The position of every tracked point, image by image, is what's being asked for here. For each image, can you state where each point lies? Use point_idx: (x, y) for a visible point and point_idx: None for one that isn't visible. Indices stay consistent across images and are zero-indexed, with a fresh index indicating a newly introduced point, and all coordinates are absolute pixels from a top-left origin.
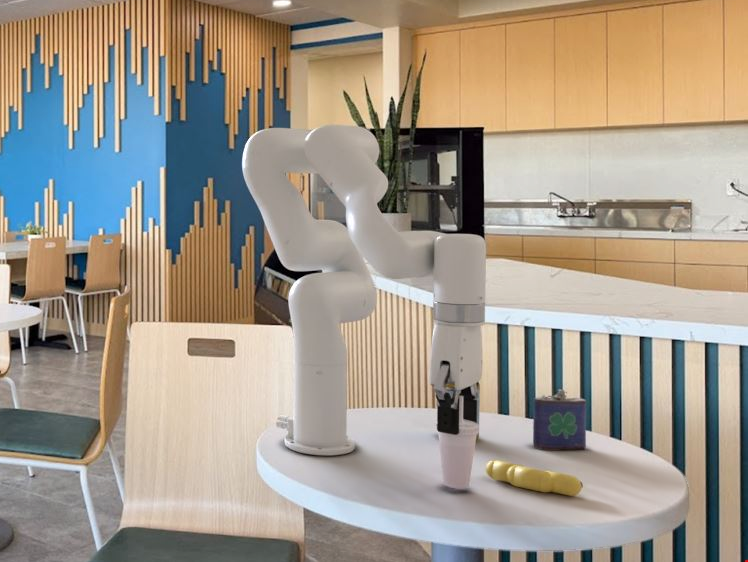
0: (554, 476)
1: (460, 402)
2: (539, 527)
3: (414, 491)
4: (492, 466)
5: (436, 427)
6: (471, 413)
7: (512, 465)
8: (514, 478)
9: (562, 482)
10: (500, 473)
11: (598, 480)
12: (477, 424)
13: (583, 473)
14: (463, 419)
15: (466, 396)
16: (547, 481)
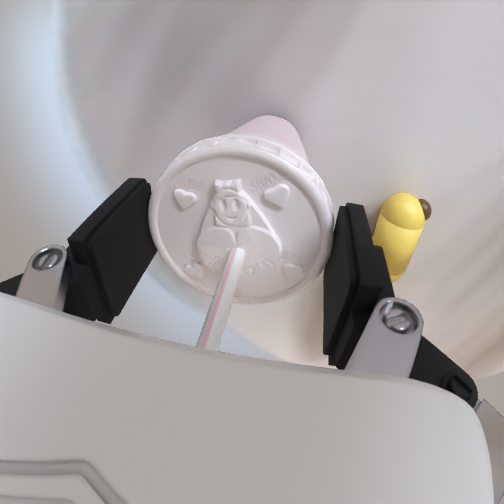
0: None
1: (203, 328)
2: (176, 292)
3: (191, 66)
4: (388, 219)
5: (187, 151)
6: (325, 298)
7: (387, 263)
8: None
9: None
10: (375, 230)
11: (449, 334)
12: (271, 300)
13: (478, 317)
14: (323, 247)
15: (343, 345)
16: None
